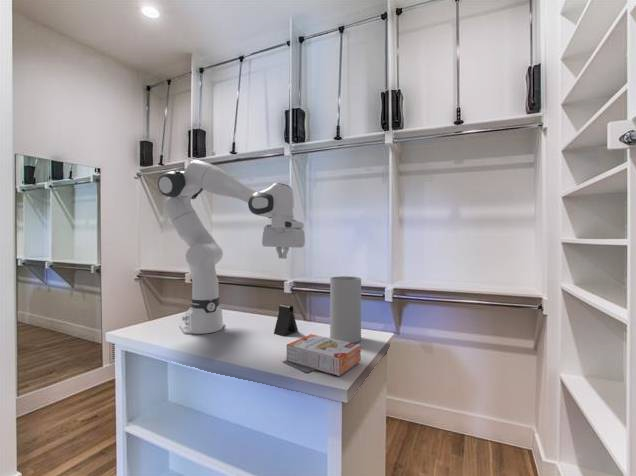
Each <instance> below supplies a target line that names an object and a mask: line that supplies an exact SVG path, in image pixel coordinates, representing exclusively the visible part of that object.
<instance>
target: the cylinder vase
mask: <svg viewBox="0 0 636 476" xmlns="http://www.w3.org/2000/svg"><path fill="white" fill-rule="evenodd" d="M329 282H330V284H329V286H330V289H329V292H330V293H329V295H330V297H329V298H330V299H329V300H330V301H329V309H330V310H329V318H330V319H329V321H330V322H329V338H331V339H336V340H340V341H345V342H350V343H355V344H358V343H359V342H360V341H361V339H362V278H361V277H358V276H342V275H341V276H332V277H330V280H329Z"/></svg>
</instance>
